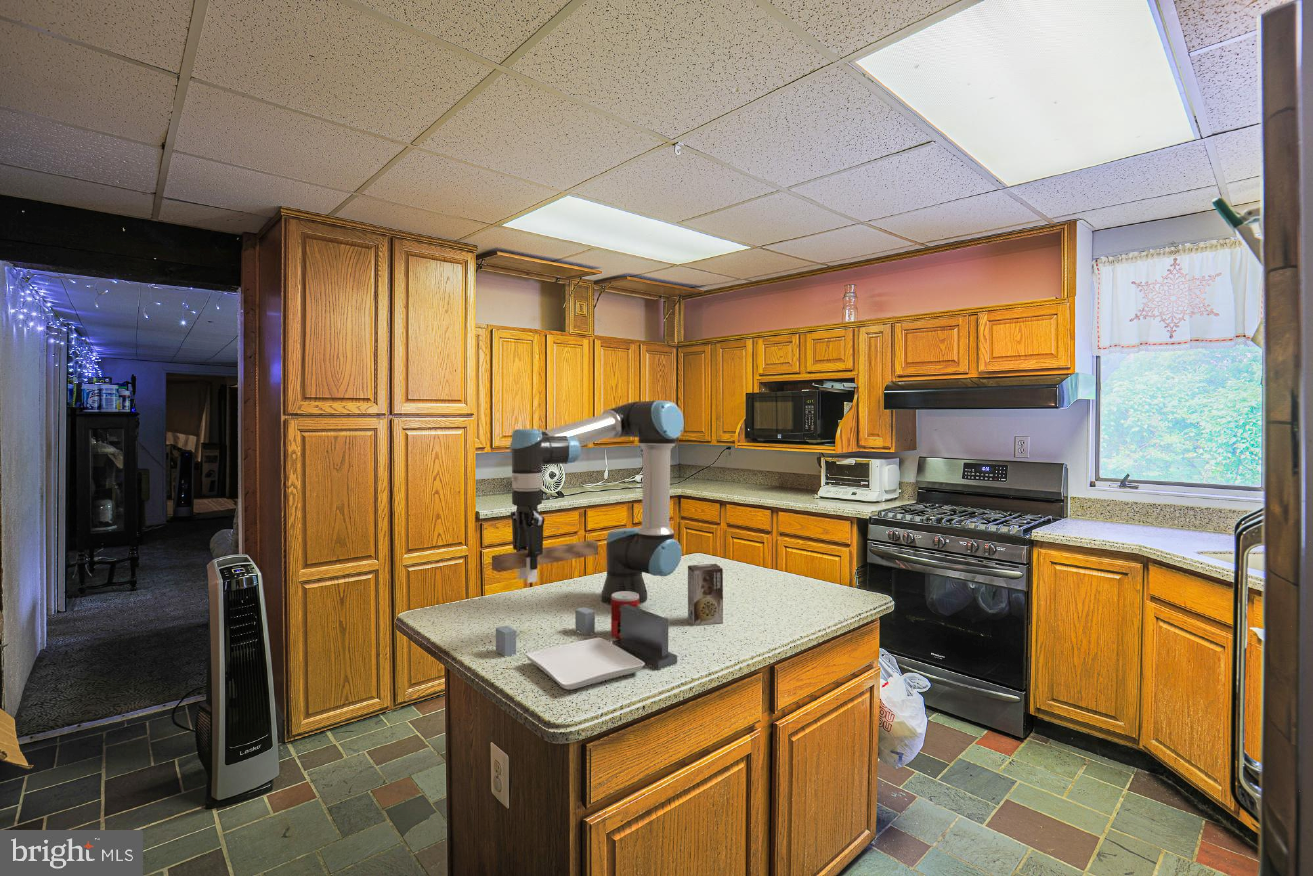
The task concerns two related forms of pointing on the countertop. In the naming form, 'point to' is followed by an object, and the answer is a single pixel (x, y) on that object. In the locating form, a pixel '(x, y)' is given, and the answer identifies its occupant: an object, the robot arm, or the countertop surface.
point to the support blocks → (508, 634)
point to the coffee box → (705, 594)
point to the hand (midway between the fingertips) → (527, 580)
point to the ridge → (645, 637)
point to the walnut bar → (545, 555)
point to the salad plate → (584, 662)
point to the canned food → (616, 603)
